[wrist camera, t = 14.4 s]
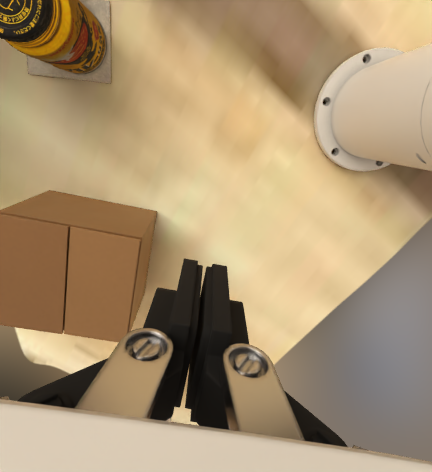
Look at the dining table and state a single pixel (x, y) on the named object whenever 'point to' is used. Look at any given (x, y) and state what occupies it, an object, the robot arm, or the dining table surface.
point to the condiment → (60, 36)
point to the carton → (59, 254)
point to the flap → (100, 284)
